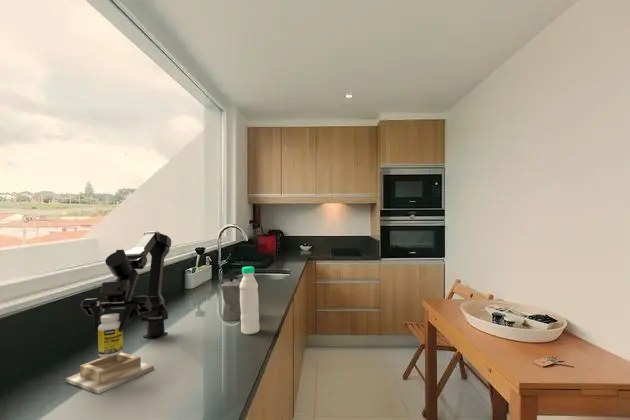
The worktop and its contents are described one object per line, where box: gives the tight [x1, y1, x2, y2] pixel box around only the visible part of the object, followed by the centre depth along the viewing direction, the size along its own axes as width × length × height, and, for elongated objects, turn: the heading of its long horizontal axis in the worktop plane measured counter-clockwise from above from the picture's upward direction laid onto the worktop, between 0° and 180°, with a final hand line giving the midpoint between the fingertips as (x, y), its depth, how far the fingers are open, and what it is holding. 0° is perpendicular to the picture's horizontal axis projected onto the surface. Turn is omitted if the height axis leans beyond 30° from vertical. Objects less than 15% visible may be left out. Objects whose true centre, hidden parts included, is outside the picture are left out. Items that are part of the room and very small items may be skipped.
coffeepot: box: [220, 276, 242, 322], centre depth 155 cm, size 15×9×18 cm, turn 44°
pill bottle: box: [97, 312, 124, 358], centre depth 100 cm, size 6×6×11 cm
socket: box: [65, 351, 155, 395], centre depth 100 cm, size 16×16×4 cm
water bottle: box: [239, 265, 261, 335], centre depth 134 cm, size 7×7×25 cm
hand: (107, 332), depth 99 cm, fingers closed on pill bottle, 6 cm apart
